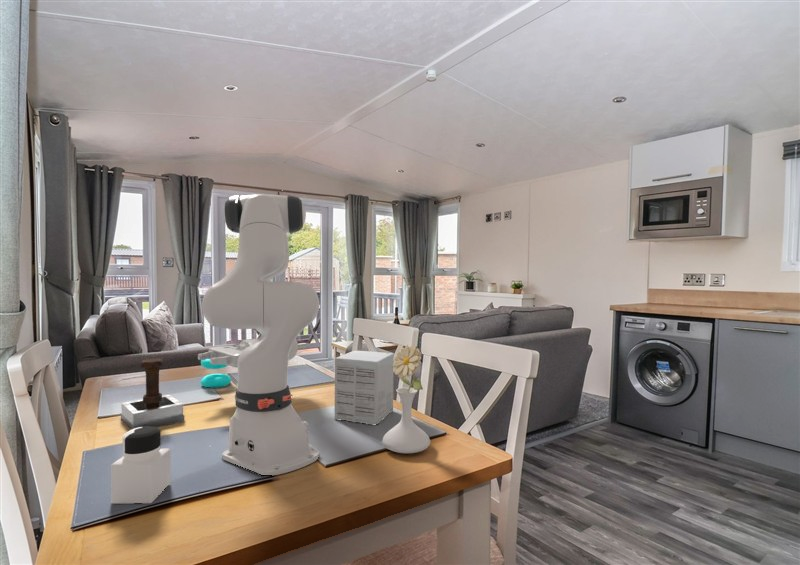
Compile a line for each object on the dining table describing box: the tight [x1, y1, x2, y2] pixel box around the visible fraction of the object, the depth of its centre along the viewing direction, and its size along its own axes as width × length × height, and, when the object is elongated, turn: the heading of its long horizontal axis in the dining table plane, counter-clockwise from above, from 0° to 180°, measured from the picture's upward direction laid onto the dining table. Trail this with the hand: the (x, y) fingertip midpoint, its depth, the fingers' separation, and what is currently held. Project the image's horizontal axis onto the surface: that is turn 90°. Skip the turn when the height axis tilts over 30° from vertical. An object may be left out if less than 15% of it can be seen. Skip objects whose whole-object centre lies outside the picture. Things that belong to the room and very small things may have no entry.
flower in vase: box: [381, 344, 431, 454], centre depth 101 cm, size 13×11×25 cm
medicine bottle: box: [110, 426, 172, 505], centre depth 80 cm, size 7×7×12 cm
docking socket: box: [120, 394, 185, 430], centre depth 119 cm, size 14×12×4 cm
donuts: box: [200, 359, 232, 389], centre depth 155 cm, size 10×10×10 cm
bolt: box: [140, 357, 164, 409], centre depth 119 cm, size 6×5×15 cm
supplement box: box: [334, 349, 395, 425], centre depth 124 cm, size 13×13×18 cm
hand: (204, 359), depth 128 cm, fingers open, 8 cm apart
